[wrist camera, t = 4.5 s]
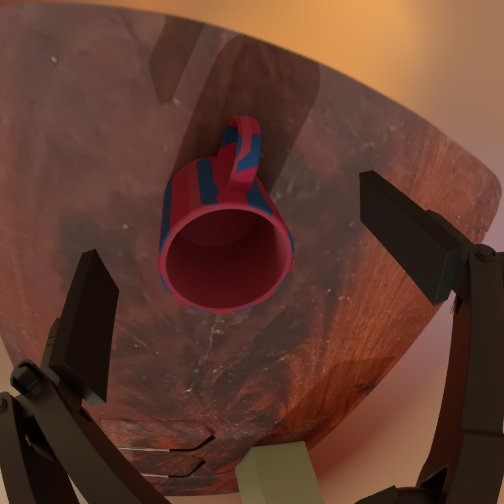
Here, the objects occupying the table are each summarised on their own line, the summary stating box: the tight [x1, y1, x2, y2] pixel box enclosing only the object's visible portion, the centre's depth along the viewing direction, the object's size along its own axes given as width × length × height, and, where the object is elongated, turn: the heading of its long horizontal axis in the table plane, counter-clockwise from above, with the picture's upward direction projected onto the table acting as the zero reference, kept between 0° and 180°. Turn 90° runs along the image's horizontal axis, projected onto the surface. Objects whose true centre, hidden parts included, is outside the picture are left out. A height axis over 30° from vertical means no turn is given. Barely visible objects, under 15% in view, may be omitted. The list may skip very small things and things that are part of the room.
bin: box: [235, 441, 324, 504], centre depth 44 cm, size 13×10×20 cm
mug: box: [158, 114, 294, 313], centre depth 17 cm, size 7×10×7 cm
